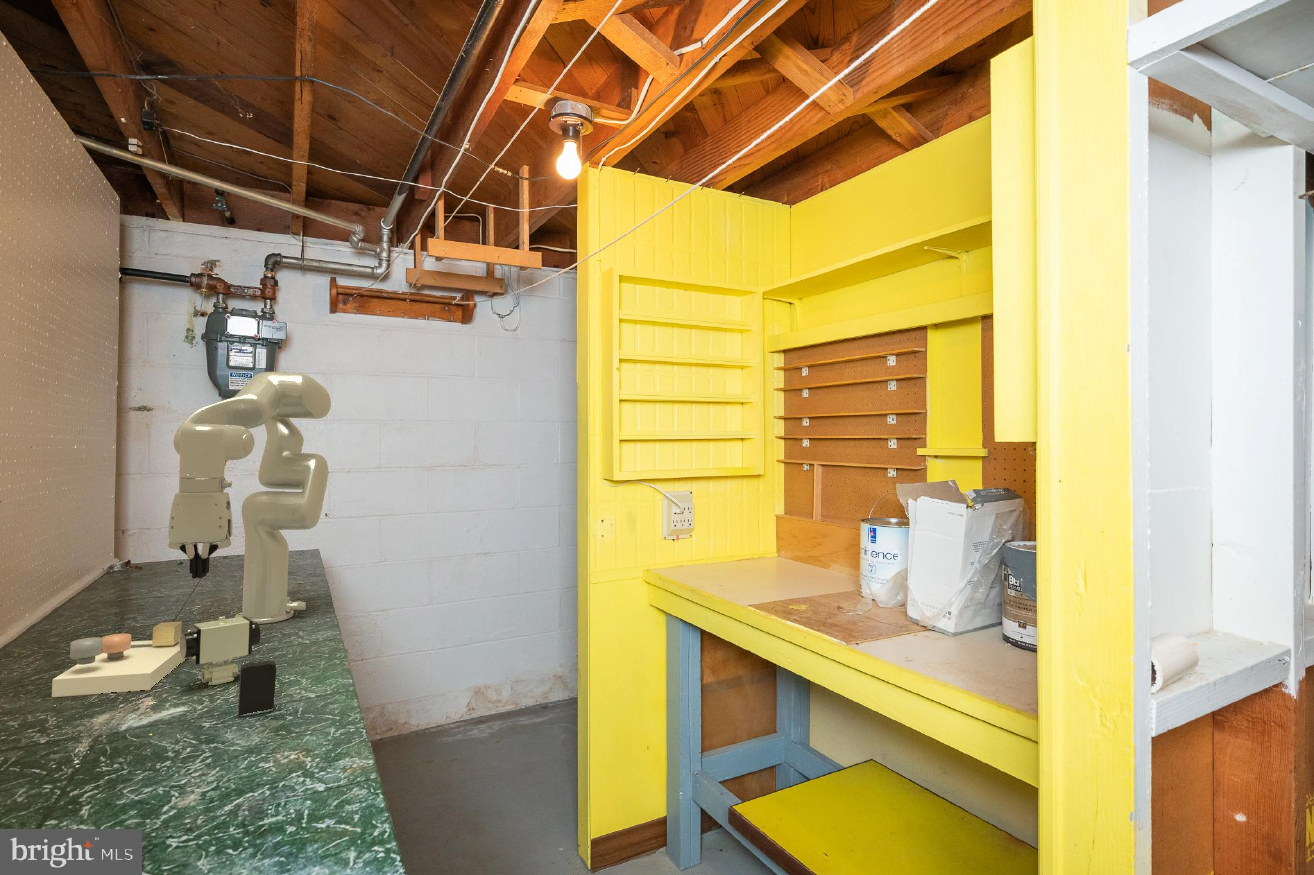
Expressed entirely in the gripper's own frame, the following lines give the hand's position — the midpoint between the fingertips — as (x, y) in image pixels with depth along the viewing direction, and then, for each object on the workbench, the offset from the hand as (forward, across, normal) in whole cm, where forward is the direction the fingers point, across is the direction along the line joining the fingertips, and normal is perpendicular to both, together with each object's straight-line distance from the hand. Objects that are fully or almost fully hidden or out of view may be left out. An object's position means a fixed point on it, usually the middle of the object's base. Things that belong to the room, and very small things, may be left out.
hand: (199, 576), depth 134 cm
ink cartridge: (+16, -19, +32) cm, 41 cm away
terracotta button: (+13, +11, +8) cm, 19 cm away
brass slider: (+13, +5, 0) cm, 14 cm away
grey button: (+12, +12, +14) cm, 22 cm away
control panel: (+16, +9, +7) cm, 20 cm away
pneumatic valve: (+16, -8, +16) cm, 24 cm away
